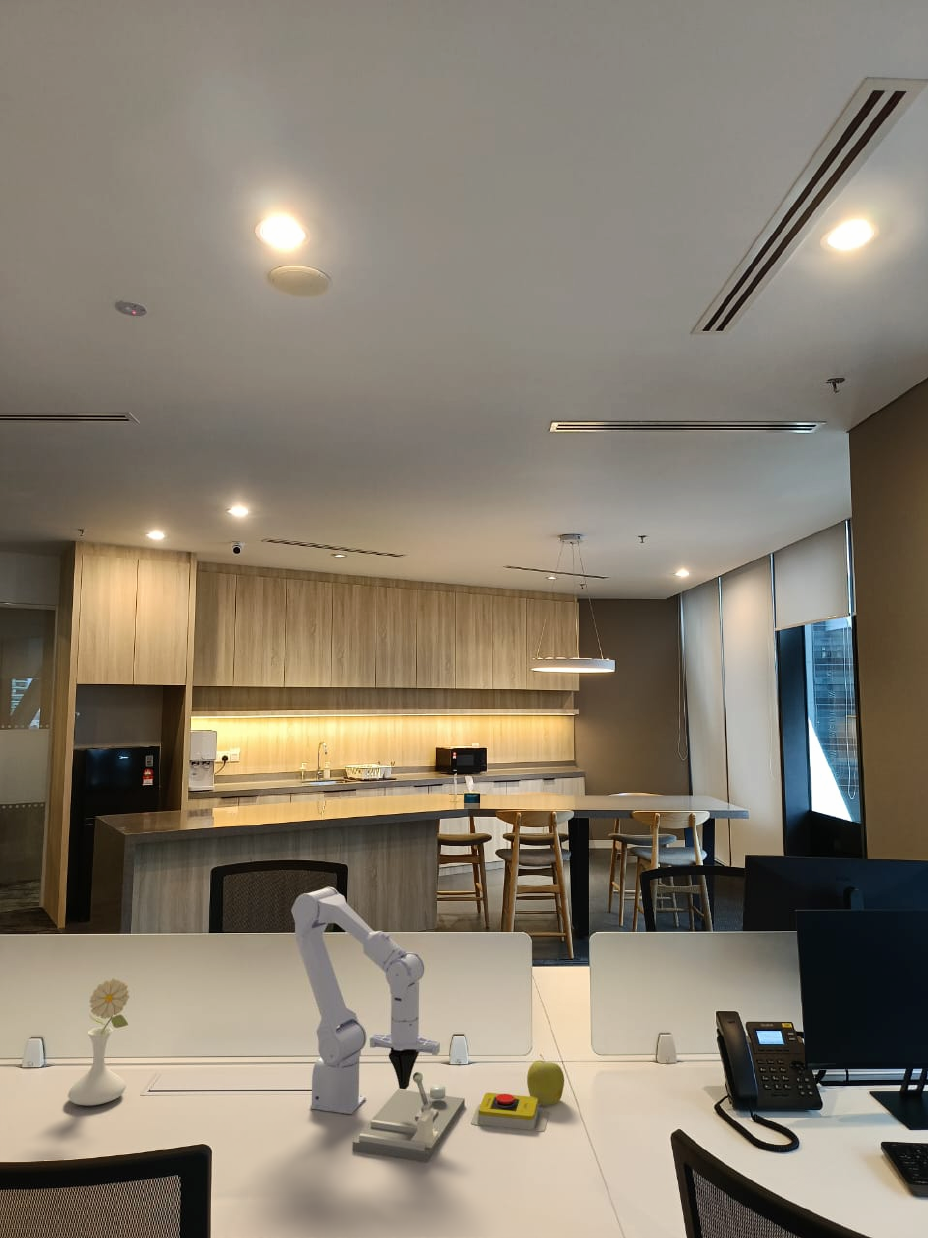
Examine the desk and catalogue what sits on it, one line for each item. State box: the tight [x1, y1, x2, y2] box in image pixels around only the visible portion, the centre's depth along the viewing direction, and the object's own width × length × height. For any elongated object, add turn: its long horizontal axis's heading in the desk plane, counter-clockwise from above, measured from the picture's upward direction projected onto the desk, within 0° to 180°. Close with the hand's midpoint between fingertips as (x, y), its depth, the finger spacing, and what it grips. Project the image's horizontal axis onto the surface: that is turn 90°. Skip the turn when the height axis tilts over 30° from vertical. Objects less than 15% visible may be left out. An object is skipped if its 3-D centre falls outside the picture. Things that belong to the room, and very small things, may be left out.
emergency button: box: [470, 1092, 550, 1133], centre depth 175 cm, size 9×4×15 cm
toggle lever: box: [412, 1071, 433, 1113], centre depth 173 cm, size 2×2×8 cm
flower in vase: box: [67, 978, 130, 1106], centre depth 184 cm, size 13×11×25 cm
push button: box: [429, 1084, 446, 1099], centre depth 179 cm, size 3×3×2 cm
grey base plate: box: [351, 1089, 466, 1163], centre depth 171 cm, size 15×24×2 cm, turn 164°
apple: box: [526, 1054, 565, 1107], centre depth 183 cm, size 8×8×10 cm
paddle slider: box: [411, 1110, 439, 1148], centre depth 162 cm, size 4×4×5 cm
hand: (404, 1087), depth 174 cm, fingers closed
